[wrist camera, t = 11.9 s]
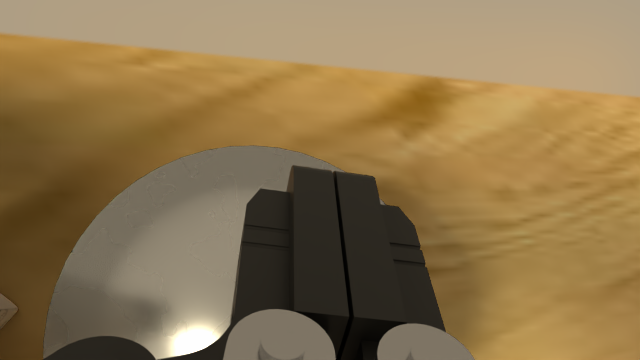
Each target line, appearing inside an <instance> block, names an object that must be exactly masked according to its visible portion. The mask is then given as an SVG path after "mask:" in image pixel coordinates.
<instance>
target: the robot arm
mask: <svg viewBox="0 0 640 360" xmlns="http://www.w3.org/2000/svg"><path fill="white" fill-rule="evenodd" d="M43 360H156V359H155V357H154V356H153V354H152V353H151V352H150V351H149V350H148V349H146V348H145V347H143V346H142V345H141V344H139V343H137V342H134V341H132V340H129V339H126V338H122V337H116V336H96V337H89V338H85V339H81V340H78V341H75V342H73V343H70V344H68V345H66V346H64V347H62V348H61V349H59V350H57V351H55V352H54V353H52V354H51V355H49V356H47V357H46V358H44V359H43ZM158 360H475V359H474V358H473V356H472V355H471V353H470V352H469V351H468V350H467V349H466V348H465V346H464V345H463V344H461V343H460V342H459V341H458V340H457V339H455V338H454V337H452V336H451V335H449V334H448V333H446V331H445V328H444V324H443V321H442V317H441V314H440V311H439V307H438V304H437V300H436V297H435V294H434V290H433V287H432V284H431V280H430V277H429V273H428V270H427V268H426V267H425V260H424V256H423V253H422V250H420V243H419V240H418V236H417V233H416V229H415V226H414V225H413V223H412V222H411V221H410V220H409V219H408V218H407V216H406V215H405V214H404V213H403V212H402V210H401V209H400V208H399V207H397V206H389V205H382V204H381V203H380V199H379V194H378V190H377V185H376V181H375V178H374V177H373V176H368V175H361V174H354V173H347V172H340V171H334V172H332V171H331V170H325V169H318V168H310V167H303V166H296V165H292V167H291V170H290V175H289V180H288V185H287V190H286V192H284V191H277V190H269V189H262V188H260V189H259V190H258V192H257V193H256V194H255V195H254V196H253V197H252V198H251V200H250V201H249V202H248V203H247V205H246V212H245V218H244V225H243V231H242V238H241V245H240V251H239V258H238V265H237V272H236V281H235V289H234V298H233V306H232V314H231V323H230V326H229V327H228V328H227V330H226V331H225V333H224V334H223V335H222V336H221V337H220V338H219V339H217V340H216V341H215V342H213V343H212V344H210V345H208V346H207V347H205V348H203V349H200V350H198V351H195V352H192V353H188V354H184V355H179V356H174V357H168V358H163V359H158Z"/></svg>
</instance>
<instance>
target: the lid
mask: <svg viewBox="0 0 640 360" xmlns="http://www.w3.org/2000/svg"><path fill="white" fill-rule="evenodd" d="M292 165H296V166H303V167H310V168H318V169H325V170H331V171H332V172H334V171H340V172H345V171H343V170H341V169H339V168H337V167H335V166H333V165H331V164H329V163H327V162H325V161H323V160H320V159H317V158H314V157H311V156H309V155H306V154H303V153H300V152H295V151H290V150H286V149H281V148H275V147H264V146H230V147H224V148H217V149H211V150H205V151H202V152H199V153H195V154H192V155H188V156H185V157H182V158H179V159H177V160H175V161H172V162H170V163H168V164H166V165H163V166H161V167H159V168H157V169H155V170H154V171H152V172H150V173H149V174H147V175H145V176H143V177H142V178H140V179H138V180H137V181H135V182H134V183H133V184H131V185H130V186H129V187H128V188H126V189H125V190H124V191H122V192H121V193H120V194H119V195H117V196H116V197H115V198H114V199H113V200H112V201H111V202H110V203H109V204H108V205H107V206H106V207H105V208H104V209H103V210H102V211H101V212H100V213H99V214H98V215H97V216H96V217H95V219H94V220H93V221H92V222H91V224H90V225H89V226H88V228H87V229H86V230H85V231H84V233H83V234H82V235H81V237H80V238H79V240H78V242H77V243H76V245H75V247H74V248H73V250H72V252H71V253H70V255H69V257H68V259H67V260H66V262H65V265H64V267H63V269H62V272H61V274H60V276H59V279H58V281H57V283H56V286H55V289H54V292H53V296H52V299H51V303H50V306H49V310H48V314H47V321H46V327H45V334H44V341H43V359H44V358H46V357H47V356H49V355H51V354H52V353H54V352H55V351H57V350H59V349H61V348H62V347H64V346H66V345H68V344H70V343H73V342H75V341H78V340H81V339H85V338H89V337H96V336H116V337H122V338H126V339H129V340H132V341H134V342H137V343H139V344H141V345H142V346H143V347H145V348H146V349H148V350H149V351H150V352H151V353H152V354H153V356H154V357H155V359H156V360H158V359H163V358H168V357H174V356H179V355H184V354H188V353H192V352H195V351H198V350H200V349H203V348H205V347H207V346H208V345H210V344H212V343H213V342H215V341H216V340H217V339H219V338H220V337H221V336H222V335H223V334H224V333H225V331H226V330H227V328H228V327H229V326H230V323H231V314H232V306H233V298H234V289H235V281H236V272H237V265H238V258H239V251H240V245H241V238H242V231H243V225H244V218H245V212H246V205H247V203H248V202H249V201H250V200H251V198H252V197H253V196H254V195H255V194H256V193H257V192H258V190H259V189H260V188H262V189H269V190H277V191H284V192H286V190H287V185H288V180H289V175H290V170H291V167H292ZM379 199H380V198H379ZM380 203H381V204H382V205H386V204H385V203H384V202H383V201H382V200H381V199H380Z"/></svg>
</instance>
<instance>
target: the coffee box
mask: <svg viewBox="0 0 640 360" xmlns="http://www.w3.org/2000/svg"><path fill="white" fill-rule="evenodd" d="M17 311H18V308H17V306H16V305H15V304H13V303H12V302H11V301H10V300H8V299H7V298H6V297H5V296H3V295H2V294H1V293H0V329H1V328H2V327H3V326H4V325H5V324H6V323H7V322H8V321H9V320H10V319H11V318H12V317H13V315H14V314H15V313H16V312H17Z"/></svg>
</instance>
